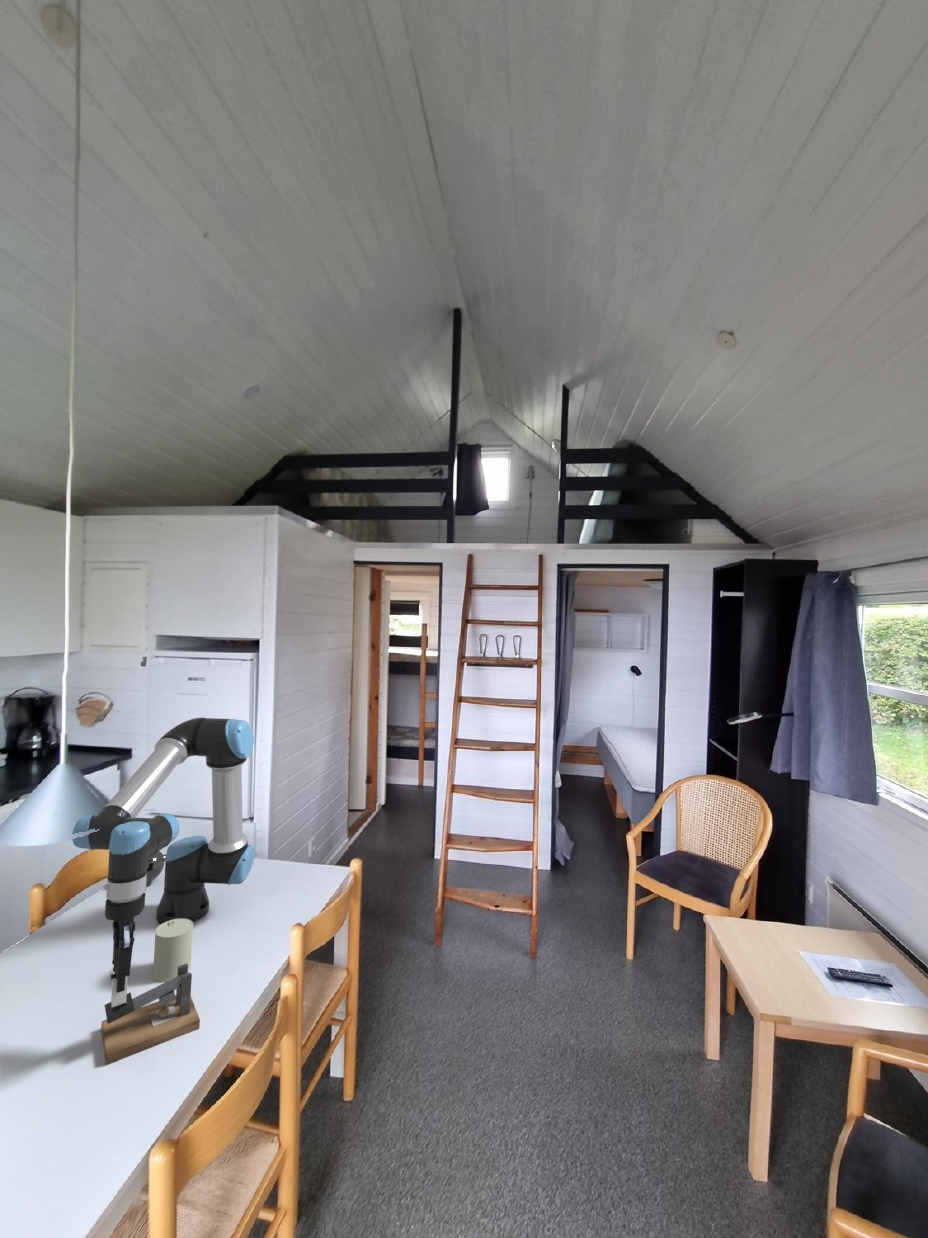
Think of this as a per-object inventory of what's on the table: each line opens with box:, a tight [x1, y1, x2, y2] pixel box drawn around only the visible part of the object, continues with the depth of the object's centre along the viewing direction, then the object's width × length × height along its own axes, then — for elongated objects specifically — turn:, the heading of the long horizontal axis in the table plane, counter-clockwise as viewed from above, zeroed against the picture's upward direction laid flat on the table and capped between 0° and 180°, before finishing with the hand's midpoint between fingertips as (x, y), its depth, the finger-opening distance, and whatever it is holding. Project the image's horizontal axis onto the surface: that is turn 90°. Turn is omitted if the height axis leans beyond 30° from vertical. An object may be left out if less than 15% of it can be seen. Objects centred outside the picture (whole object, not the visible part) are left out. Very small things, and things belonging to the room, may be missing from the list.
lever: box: [104, 971, 189, 1024], centre depth 122 cm, size 5×17×4 cm, turn 129°
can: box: [151, 919, 194, 983], centre depth 142 cm, size 9×9×12 cm
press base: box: [100, 963, 201, 1066], centre depth 122 cm, size 12×18×11 cm, turn 129°
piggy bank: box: [146, 850, 166, 888], centre depth 189 cm, size 11×15×12 cm
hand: (118, 1003), depth 118 cm, fingers closed
